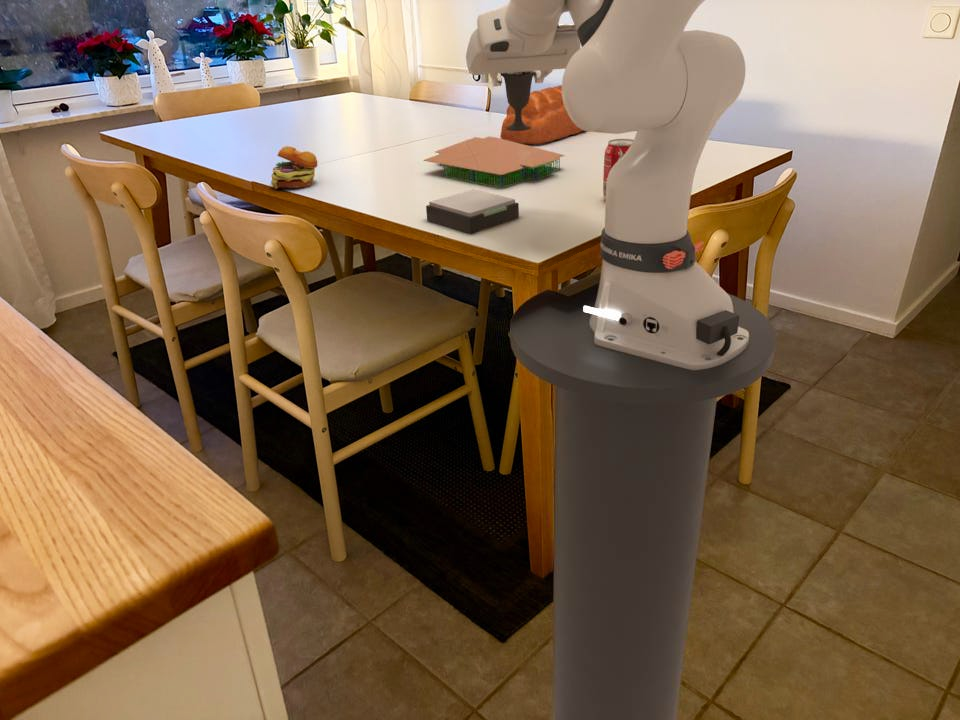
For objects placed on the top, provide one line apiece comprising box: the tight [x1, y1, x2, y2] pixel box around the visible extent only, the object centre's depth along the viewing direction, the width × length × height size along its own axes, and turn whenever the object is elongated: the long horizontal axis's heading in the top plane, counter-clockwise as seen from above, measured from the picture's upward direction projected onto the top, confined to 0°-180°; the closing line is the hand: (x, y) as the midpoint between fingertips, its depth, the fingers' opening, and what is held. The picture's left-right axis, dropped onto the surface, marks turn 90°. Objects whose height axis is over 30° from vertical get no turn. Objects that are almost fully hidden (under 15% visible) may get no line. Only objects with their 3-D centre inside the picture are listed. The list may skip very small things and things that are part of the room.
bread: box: [499, 84, 585, 145], centre depth 215 cm, size 16×31×13 cm, turn 140°
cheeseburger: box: [270, 145, 318, 190], centre depth 176 cm, size 10×11×10 cm
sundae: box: [501, 71, 536, 131], centre depth 138 cm, size 7×7×15 cm
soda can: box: [602, 138, 634, 200], centre depth 152 cm, size 7×7×12 cm
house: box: [423, 136, 565, 189], centre depth 180 cm, size 23×33×8 cm
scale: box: [425, 188, 520, 234], centre depth 146 cm, size 13×13×4 cm
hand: (517, 81), depth 138 cm, fingers closed on sundae, 7 cm apart
